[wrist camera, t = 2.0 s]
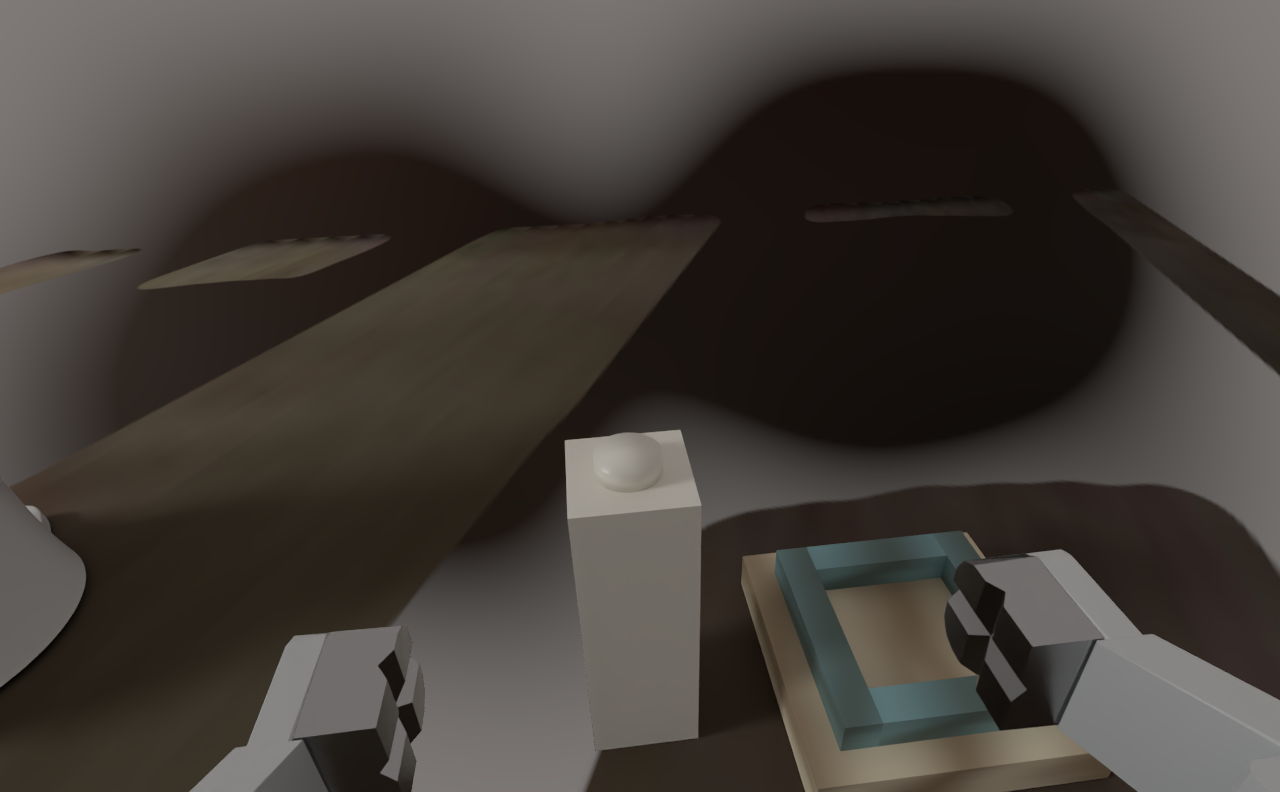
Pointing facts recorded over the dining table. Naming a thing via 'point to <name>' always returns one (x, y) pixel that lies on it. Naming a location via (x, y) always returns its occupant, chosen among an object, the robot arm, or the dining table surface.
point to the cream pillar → (637, 584)
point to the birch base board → (888, 674)
